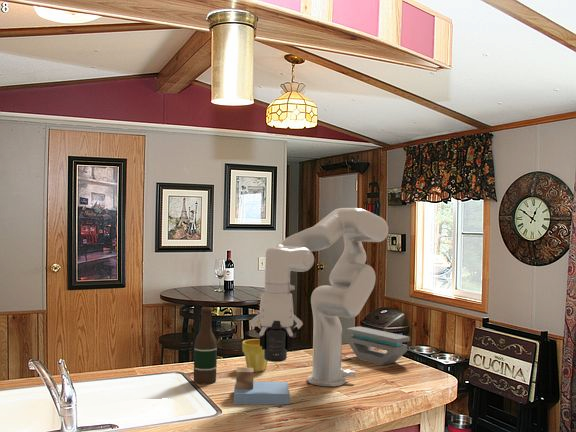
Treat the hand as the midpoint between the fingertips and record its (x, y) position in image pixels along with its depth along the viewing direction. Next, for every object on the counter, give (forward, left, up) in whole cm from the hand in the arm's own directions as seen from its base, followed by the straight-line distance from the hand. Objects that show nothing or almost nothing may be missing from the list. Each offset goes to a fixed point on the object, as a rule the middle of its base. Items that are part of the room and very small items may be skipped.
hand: (275, 348), depth 166 cm
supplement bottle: (0, 0, -4) cm, 4 cm away
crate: (+9, -1, -12) cm, 15 cm away
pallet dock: (+4, 0, -15) cm, 15 cm away
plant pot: (+5, -32, -15) cm, 36 cm away
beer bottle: (+22, -17, -15) cm, 32 cm away
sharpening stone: (-42, -46, -15) cm, 63 cm away
